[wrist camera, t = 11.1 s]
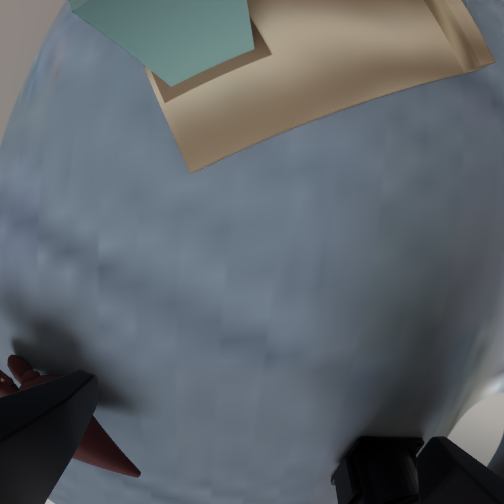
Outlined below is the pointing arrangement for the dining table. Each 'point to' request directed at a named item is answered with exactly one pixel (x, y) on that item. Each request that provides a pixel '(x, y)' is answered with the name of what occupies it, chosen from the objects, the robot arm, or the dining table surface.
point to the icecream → (94, 439)
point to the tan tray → (316, 68)
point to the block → (173, 32)
